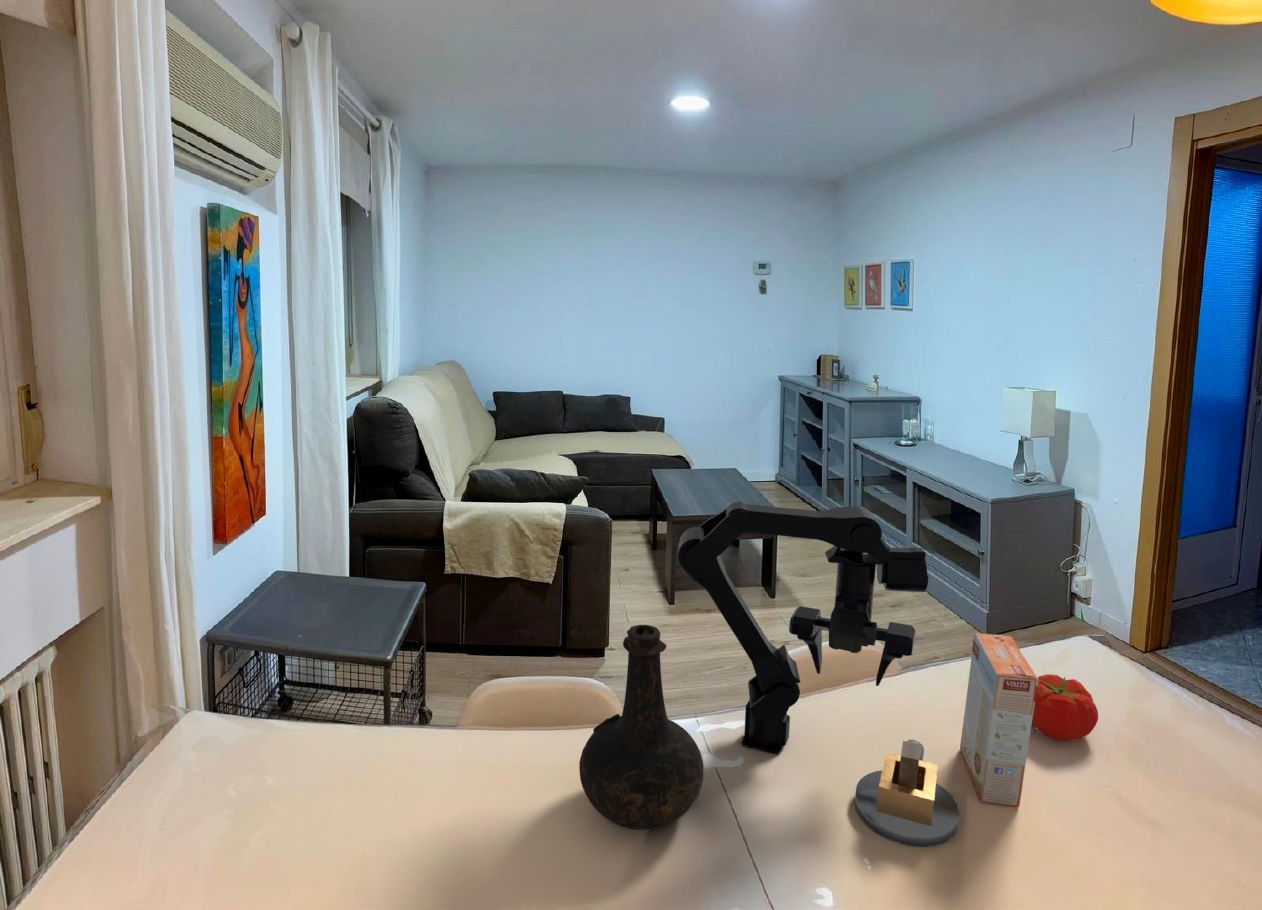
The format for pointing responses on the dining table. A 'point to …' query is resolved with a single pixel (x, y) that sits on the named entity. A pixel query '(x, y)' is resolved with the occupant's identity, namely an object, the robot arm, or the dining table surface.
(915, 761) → the block
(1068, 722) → the tomato
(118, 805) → the dining table surface
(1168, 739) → the dining table surface
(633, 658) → the glass bottle
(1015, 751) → the cracker box
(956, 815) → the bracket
